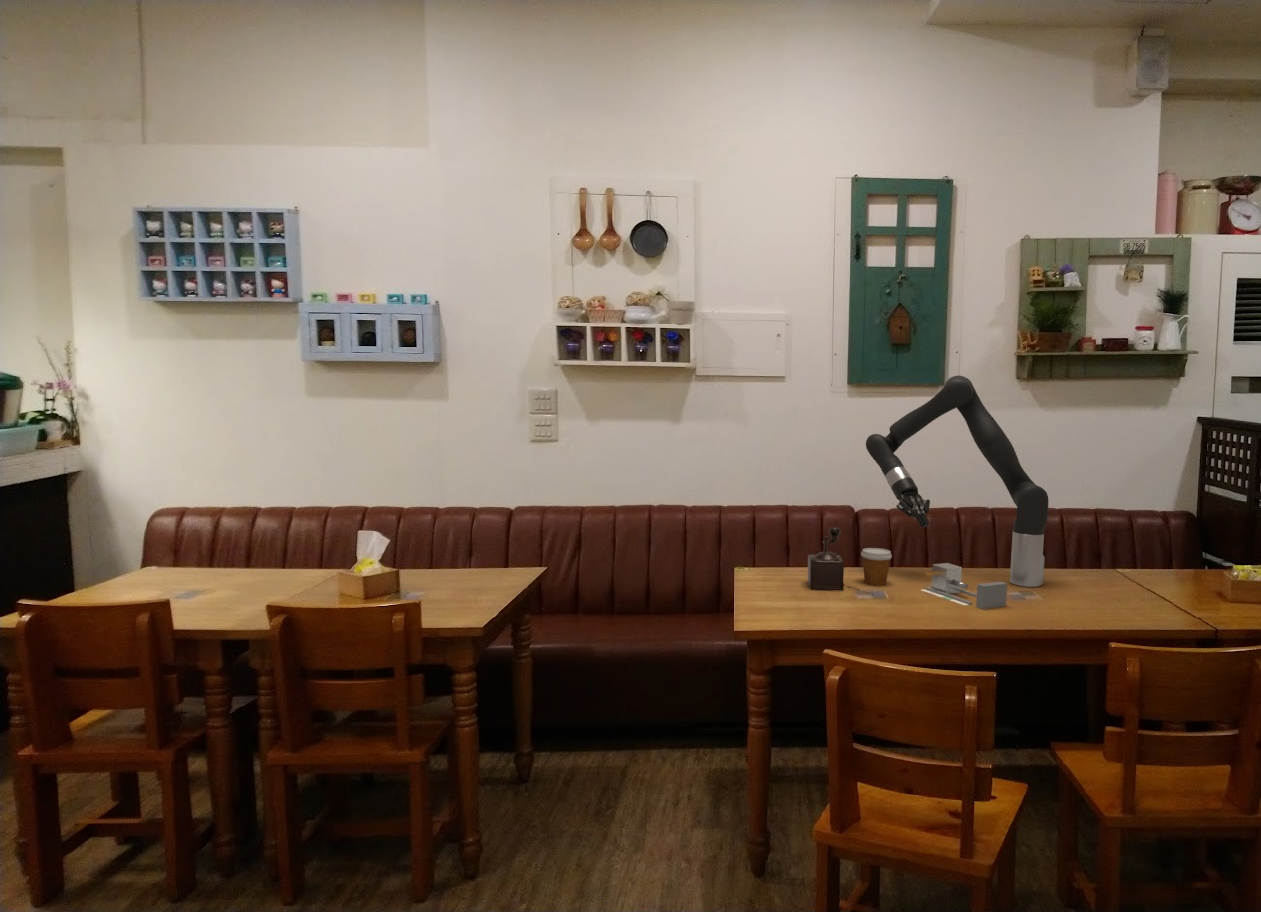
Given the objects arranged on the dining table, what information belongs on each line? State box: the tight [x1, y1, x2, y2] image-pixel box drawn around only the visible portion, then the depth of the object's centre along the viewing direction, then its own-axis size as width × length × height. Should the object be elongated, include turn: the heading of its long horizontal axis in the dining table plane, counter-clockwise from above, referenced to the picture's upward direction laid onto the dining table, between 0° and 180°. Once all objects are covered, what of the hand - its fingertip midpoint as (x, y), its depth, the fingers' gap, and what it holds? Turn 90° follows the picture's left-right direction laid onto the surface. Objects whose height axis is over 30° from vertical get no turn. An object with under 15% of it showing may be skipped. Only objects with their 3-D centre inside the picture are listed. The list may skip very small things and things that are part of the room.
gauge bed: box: [921, 581, 1008, 610], centre depth 242 cm, size 14×24×8 cm, turn 23°
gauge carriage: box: [925, 562, 969, 595], centre depth 245 cm, size 11×11×8 cm
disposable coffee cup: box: [860, 547, 893, 586], centre depth 258 cm, size 10×10×12 cm
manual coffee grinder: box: [807, 526, 845, 591], centre depth 261 cm, size 16×11×18 cm
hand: (926, 525), depth 259 cm, fingers closed
